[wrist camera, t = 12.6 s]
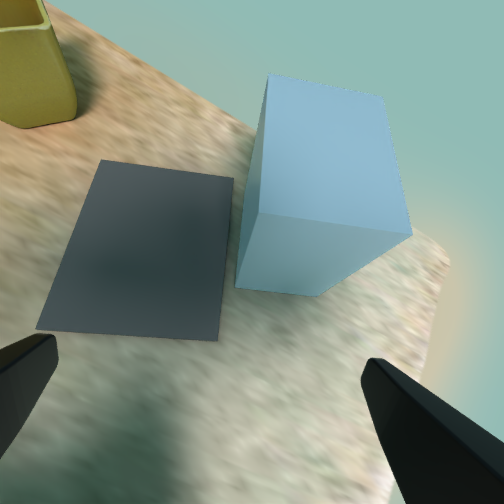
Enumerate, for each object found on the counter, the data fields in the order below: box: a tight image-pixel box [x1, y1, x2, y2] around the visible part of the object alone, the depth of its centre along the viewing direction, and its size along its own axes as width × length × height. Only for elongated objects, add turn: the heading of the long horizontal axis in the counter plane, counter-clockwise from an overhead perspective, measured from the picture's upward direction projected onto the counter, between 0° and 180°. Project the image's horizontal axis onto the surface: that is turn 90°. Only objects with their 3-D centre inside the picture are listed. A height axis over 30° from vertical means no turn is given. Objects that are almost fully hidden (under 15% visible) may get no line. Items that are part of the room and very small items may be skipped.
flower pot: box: [0, 0, 77, 128], centre depth 23 cm, size 9×9×9 cm
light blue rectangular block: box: [235, 73, 413, 297], centre depth 19 cm, size 10×7×12 cm
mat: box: [35, 160, 234, 341], centre depth 22 cm, size 16×13×1 cm
